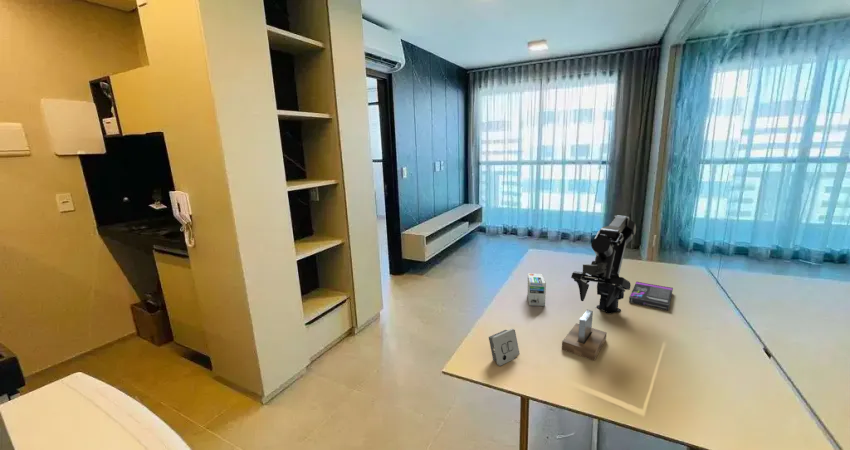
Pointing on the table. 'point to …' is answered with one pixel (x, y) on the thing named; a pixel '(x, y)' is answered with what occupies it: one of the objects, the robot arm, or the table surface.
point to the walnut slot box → (591, 345)
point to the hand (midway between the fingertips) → (594, 303)
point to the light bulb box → (536, 289)
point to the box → (651, 295)
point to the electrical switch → (504, 346)
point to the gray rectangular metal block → (585, 326)
